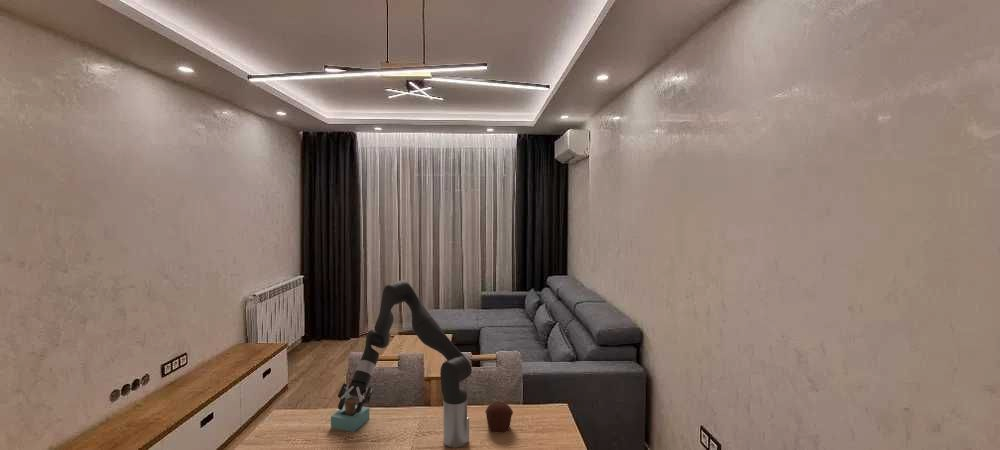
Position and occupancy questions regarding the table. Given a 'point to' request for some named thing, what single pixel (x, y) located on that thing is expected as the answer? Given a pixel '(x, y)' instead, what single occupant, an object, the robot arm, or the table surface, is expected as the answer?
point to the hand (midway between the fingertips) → (348, 410)
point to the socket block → (349, 419)
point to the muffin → (498, 416)
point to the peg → (350, 407)
